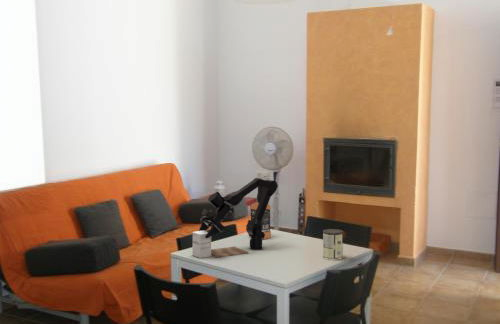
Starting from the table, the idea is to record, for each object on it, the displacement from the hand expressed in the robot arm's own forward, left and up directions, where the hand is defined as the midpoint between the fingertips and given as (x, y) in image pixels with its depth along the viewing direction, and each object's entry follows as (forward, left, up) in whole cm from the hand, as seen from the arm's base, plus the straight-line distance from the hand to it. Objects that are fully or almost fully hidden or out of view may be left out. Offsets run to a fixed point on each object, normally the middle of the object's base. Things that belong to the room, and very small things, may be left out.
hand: (201, 236), depth 282 cm
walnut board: (-13, -8, -10) cm, 18 cm away
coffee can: (-68, +3, -11) cm, 69 cm away
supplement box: (0, 0, -11) cm, 11 cm away
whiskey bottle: (-32, -44, -11) cm, 55 cm away
